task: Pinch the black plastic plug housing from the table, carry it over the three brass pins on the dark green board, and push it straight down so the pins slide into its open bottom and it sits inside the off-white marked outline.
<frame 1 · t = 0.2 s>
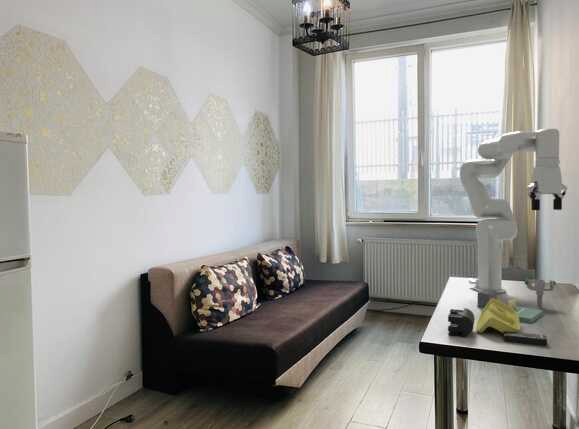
hand: (546, 209, 160), 37 cm above the table, tool pointing down, fingers open, 9 cm apart
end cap: (461, 333, 136), on the table
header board: (511, 314, 155), on the table
mechanical component: (539, 306, 166), on the table
plastic component: (499, 329, 140), on the table
plug housing: (487, 305, 168), on the table
multiport hub: (524, 343, 127), on the table
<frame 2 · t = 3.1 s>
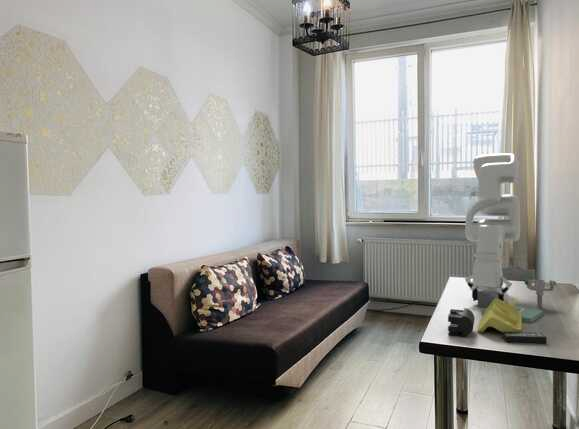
hand: (487, 302, 167), 2 cm above the table, tool pointing down, fingers open, 8 cm apart
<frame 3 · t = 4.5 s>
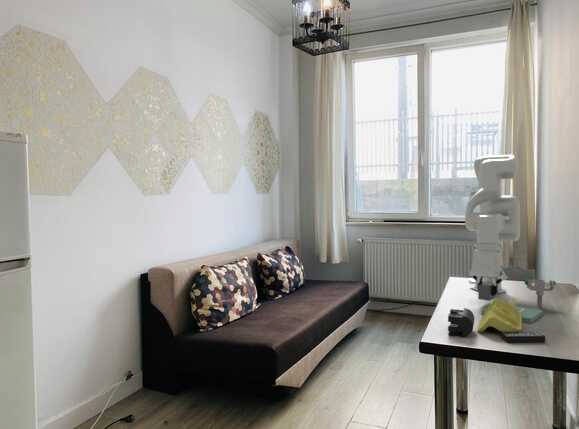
hand: (487, 293, 168), 4 cm above the table, tool pointing down, fingers closed on plug housing, 4 cm apart
plug housing: (487, 297, 169), point 3 cm above the table, touching gripper
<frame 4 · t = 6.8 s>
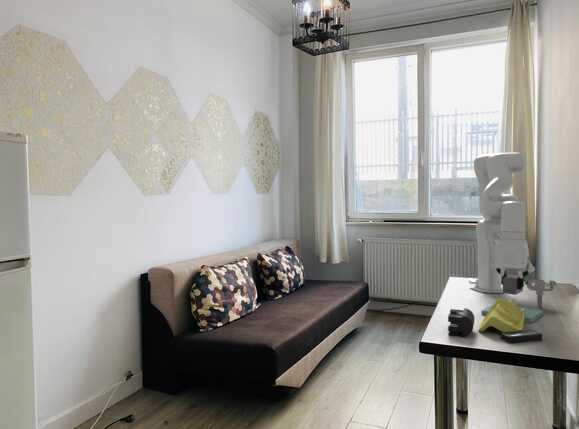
hand: (512, 287, 154), 10 cm above the table, tool pointing down, fingers closed on plug housing, 4 cm apart
plug housing: (512, 292, 155), point 8 cm above the table, touching gripper
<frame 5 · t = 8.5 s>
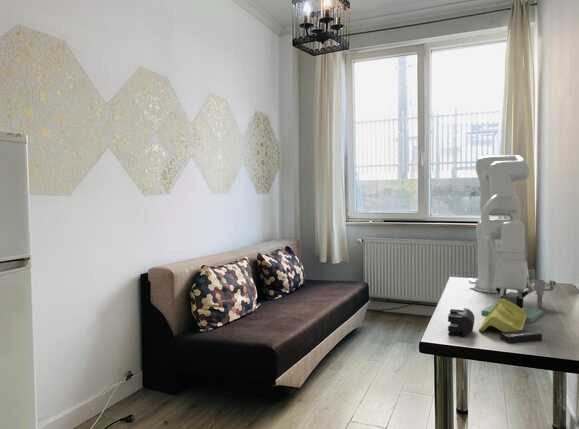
hand: (512, 307, 154), 3 cm above the table, tool pointing down, fingers closed on plug housing, 4 cm apart
plug housing: (512, 309, 155), point 2 cm above the table, touching gripper, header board
when the fingers open (3 cm above the table, at t = 9.5 s): plug housing stays where it is, resting on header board.
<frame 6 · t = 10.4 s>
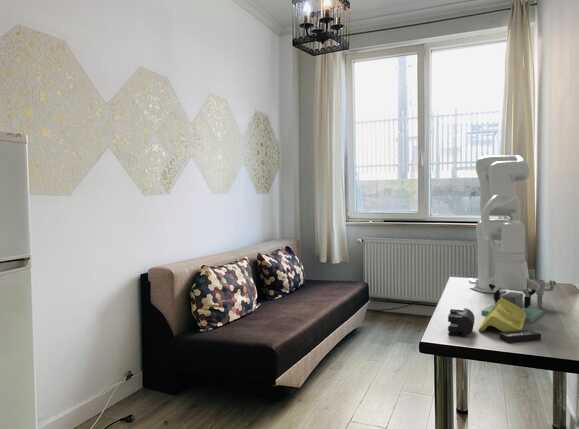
hand: (511, 305, 155), 3 cm above the table, tool pointing down, fingers open, 9 cm apart
plug housing: (512, 309, 155), point 2 cm above the table, touching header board
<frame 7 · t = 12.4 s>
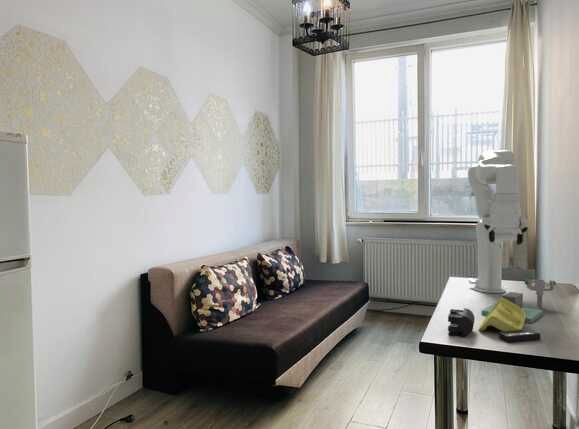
hand: (505, 243, 166), 24 cm above the table, tool pointing down, fingers open, 9 cm apart
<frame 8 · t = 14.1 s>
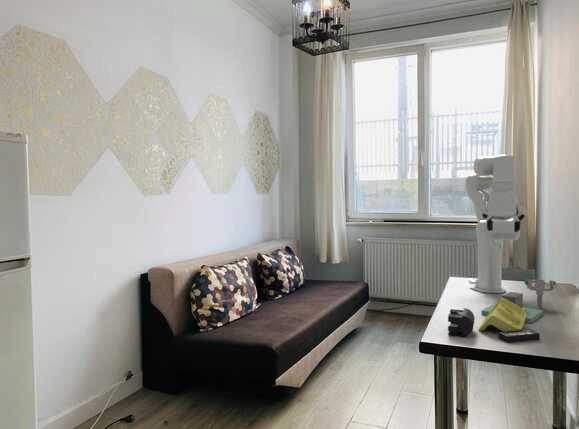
hand: (503, 231, 170), 28 cm above the table, tool pointing down, fingers open, 9 cm apart
at the end: plug housing 0.3 cm off-centre on the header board, point 1.6 cm above the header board's base; plug housing tilted 0°; the gripper is holding nothing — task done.
